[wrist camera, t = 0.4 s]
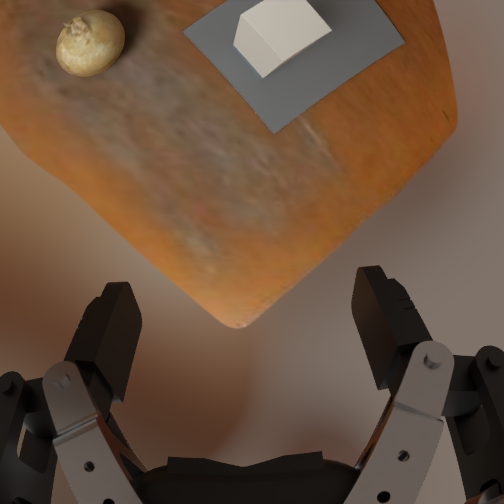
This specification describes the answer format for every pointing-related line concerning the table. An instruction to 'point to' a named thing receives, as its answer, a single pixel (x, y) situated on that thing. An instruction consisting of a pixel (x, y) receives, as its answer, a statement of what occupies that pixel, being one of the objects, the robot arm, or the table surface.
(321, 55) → the mat
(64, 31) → the onion
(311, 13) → the tall block
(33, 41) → the table surface
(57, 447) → the robot arm
